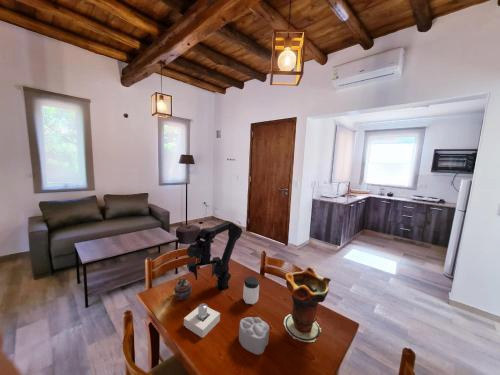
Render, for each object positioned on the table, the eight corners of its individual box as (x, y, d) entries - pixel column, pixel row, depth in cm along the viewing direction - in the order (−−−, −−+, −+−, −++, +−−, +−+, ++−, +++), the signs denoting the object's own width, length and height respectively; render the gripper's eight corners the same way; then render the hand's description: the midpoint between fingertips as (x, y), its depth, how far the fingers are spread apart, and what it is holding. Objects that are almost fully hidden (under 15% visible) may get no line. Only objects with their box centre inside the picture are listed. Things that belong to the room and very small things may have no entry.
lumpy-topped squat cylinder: (260, 357, 83) (261, 338, 82) (233, 342, 89) (234, 324, 88) (270, 339, 92) (271, 321, 91) (245, 326, 98) (246, 310, 97)
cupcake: (192, 299, 114) (193, 283, 113) (174, 303, 110) (174, 286, 109) (190, 289, 123) (191, 274, 122) (173, 292, 119) (173, 276, 118)
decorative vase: (333, 325, 102) (338, 273, 97) (310, 356, 85) (315, 296, 81) (297, 303, 116) (300, 257, 112) (272, 326, 100) (274, 274, 96)
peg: (204, 319, 101) (205, 302, 100) (207, 324, 97) (208, 307, 96) (196, 321, 99) (197, 304, 98) (199, 327, 95) (199, 310, 94)
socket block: (201, 310, 106) (201, 303, 106) (219, 320, 100) (220, 313, 100) (183, 326, 96) (183, 318, 95) (202, 338, 90) (203, 329, 89)
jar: (241, 296, 120) (242, 277, 118) (253, 293, 123) (255, 274, 122) (246, 306, 112) (248, 285, 110) (260, 303, 115) (261, 283, 113)
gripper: (216, 243, 124) (215, 267, 126) (184, 248, 114) (184, 274, 116) (223, 251, 114) (221, 277, 116) (189, 257, 105) (188, 285, 107)
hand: (204, 278), depth 114 cm, fingers open, 9 cm apart
